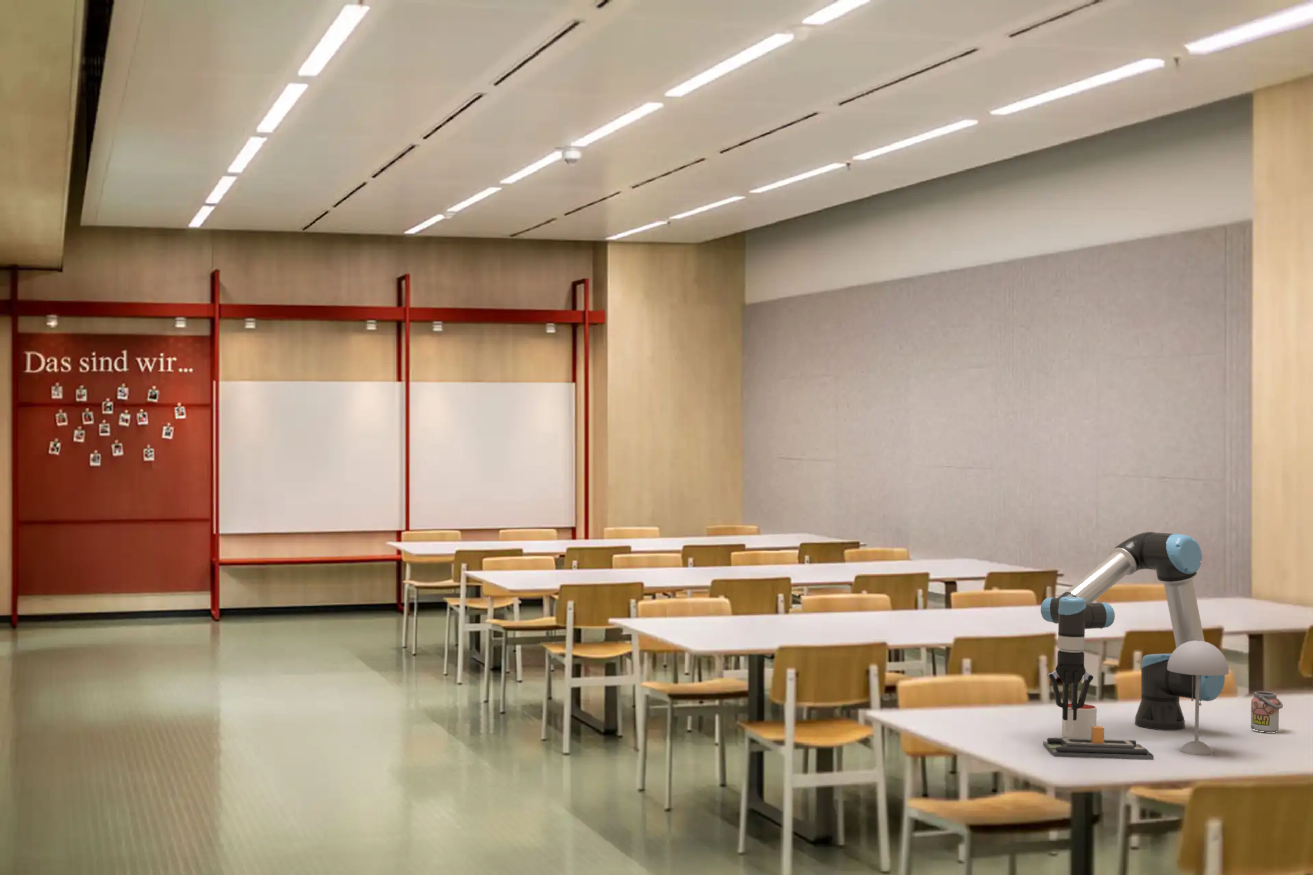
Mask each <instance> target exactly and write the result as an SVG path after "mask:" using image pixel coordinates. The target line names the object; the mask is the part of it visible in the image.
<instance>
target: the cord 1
mask: <svg viewBox="0 0 1313 875" xmlns="http://www.w3.org/2000/svg"><path fill="white" fill-rule="evenodd" d="M1061 738H1062V737H1048V738H1047V739H1046V741H1047V742H1049V743H1061ZM1128 740H1129V739H1128ZM1129 741H1130V742H1131V743H1132V744H1134V745H1136V744H1137V740H1135V739H1134V740H1133V739H1132V740H1131V739H1130V740H1129Z"/></svg>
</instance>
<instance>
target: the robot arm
mask: <svg viewBox="0 0 1313 875" xmlns="http://www.w3.org/2000/svg"><path fill="white" fill-rule="evenodd" d="M1202 554H1203V553H1202V549H1201V546H1200V545H1199V542H1197V541H1196V539H1195V538H1194V537H1192V536H1190V535H1186V534H1181V533H1177V532H1176V533H1167V532H1155V531H1153V532H1152V531H1147V532H1141V533H1138V534H1135V535H1133V536H1131V537H1129V538H1127V539H1125V540H1124V541H1122V542H1120V543H1119V544H1117V545H1116V546H1115V547H1114V548H1113V549H1112V550H1110V552H1109V556H1107V558H1106V559H1104V560H1103V561H1102V562H1100V563H1099V564H1098V565H1096V567H1094V568H1093V569H1091V570H1090V571H1089V572H1088V573H1086V575H1084V576H1083V577H1082V578H1081V579H1079V580H1078V581H1077V582H1076V583H1074V584H1073V585H1072V586H1071V587H1069V588H1068V589H1067V590H1065V591H1064V592H1063V593H1062V594H1060V595H1059V596H1057V597H1054V596H1053V597H1046V598H1044V600H1043V601H1042V602H1041V605H1040V615H1041V617H1042V619H1043V620H1044V621H1045V622H1048V623H1053V624H1054V625H1055V624H1056V625H1057V626H1058V628H1057V629H1058V631H1057V648H1058V651H1057V658H1056V660H1057V664H1056V666H1055V670H1054V671H1052V672H1049V673H1047V677H1048V678H1049V680H1050V682H1051V687H1052V691H1053V696H1054V700H1055V704H1056V706H1057V707H1059V708H1061V709H1063V713H1061V714H1062V715H1061V719H1062V718H1063V720H1066V731H1067V732H1073V720H1076V719H1077V709H1078V708H1082V707H1083V706H1084V704H1085V702H1086V698H1087V694H1088V691H1089V687H1090V684H1091V682H1093V681H1092V680H1094V676H1093V675H1092V674H1090V673H1088V672H1086V671H1087V669H1086V668H1085V652H1084V650H1085V640H1086V639H1085V638H1086V637H1085V636H1086V635H1085V634H1086V631H1085V630H1090V629H1093V630H1094V629H1100V630H1102V629H1105V628H1109V627H1111V626H1112V625H1113V623H1114V622H1115V619H1116V618H1115V617H1116V615H1115V614H1116V613H1115V610H1114V608H1113V606H1112V605H1110V604H1109V603H1107V602H1101V601H1098V602H1095V601H1096V600H1098V599H1099V597H1101V596H1102V595H1103V594H1104V593H1106V592H1107V591H1108V590H1109V589H1110V588H1112V587H1113V586H1114V585H1116V584H1118V582H1119V581H1120V580H1122V579H1123V578H1125V576H1132V575H1133V574H1134V573H1135V572H1137V571H1141V570H1153V571H1155V573H1156V577H1157V580H1158V581H1159V582H1161V583H1162V584H1163V586H1164V591H1165V597H1166V600H1167V606H1168V612H1169V617H1170V622H1171V626H1172V632H1173V637H1174V642H1175V649H1176V648H1177V647H1179V646H1180V645H1181V644H1183V643H1186V642H1189V641H1197V639H1200V641H1204V642H1206V641H1205V637H1204V632H1203V631H1204V630H1203V626H1202V621H1201V615H1200V611H1199V605H1198V600H1197V595H1196V589H1195V583H1194V579H1195V578H1196V576H1197V573H1198V572H1197V571H1199V569H1200V567H1201V565H1202V561H1203V555H1202ZM1171 654H1172V653H1152V654H1146V655H1143V657H1142V660H1141V667H1140V672H1141V674H1140V675H1141V677H1140V678H1141V680H1140V682H1141V684H1140V686H1141V688H1140V691H1141V693H1140V694H1141V695H1140V702H1139V705H1138V708H1137V711H1136V714H1135V717H1134V724H1135V726H1138V727H1141V728H1145V729H1150V730H1151V729H1153V730H1160V731H1161V730H1163V731H1177V730H1182V729H1185V727H1186V724H1185V723H1186V720H1185V717H1184V714H1183V710H1182V707H1181V704H1180V698H1185V699H1190V700H1191V699H1192V685H1193V699H1194V700H1195V695H1196V675H1189V674H1181V673H1175V672H1171V671H1169V670H1167V665H1168V661H1169V658H1170V656H1171ZM1058 677H1059V679H1061V681H1062V698H1061V694H1060V693H1061V692H1060V689H1059V685H1058V681H1057V679H1058ZM1082 678H1083V683H1082V687H1081V690H1080V693H1079V697H1078V692H1079V690H1078V688H1079V687H1078V686H1079V681H1080V680H1081V679H1082ZM1192 678H1193V684H1192ZM1225 681H1226V675H1219V676H1203V675H1201V681H1200V680H1199V702H1202V701H1204V702H1211V701H1212V702H1213V701H1214V700H1216V699H1217V698H1218V697H1219V696H1220V695H1221V692H1223V691H1222V690H1223V689H1224V686H1225ZM1070 683H1071V699H1070V701H1071V702H1070V704H1071V707H1072V709H1071V708H1068V704H1069V695H1070V694H1069V690H1070V689H1069V688H1070ZM1200 683H1201V701H1200Z"/></svg>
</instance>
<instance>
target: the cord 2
mask: <svg viewBox="0 0 1313 875" xmlns="http://www.w3.org/2000/svg"><path fill="white" fill-rule="evenodd" d="M1147 750H1148V749H1120V748H1087V747H1056V751H1058V752H1088V753H1121V754H1148V751H1149V750H1148V751H1147Z"/></svg>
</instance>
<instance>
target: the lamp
mask: <svg viewBox="0 0 1313 875" xmlns="http://www.w3.org/2000/svg"><path fill="white" fill-rule="evenodd" d="M1204 641H1205V640H1204ZM1204 641H1200V639H1197V641H1189V642H1186V643H1183V644H1181V645H1180V646H1179V647H1177V648H1176V647H1175V649H1174V650H1173V652H1171V653H1170V654H1171V656H1170V658H1169V661H1168V665H1167V670H1169V671H1171V672H1175V673H1181V674H1189V675H1196V695H1195V699H1193V685H1192V699H1190V700H1191V702H1194V701H1195V702H1194V703H1195V704H1194V706H1195V710H1194V714H1195V715H1194V740H1192V741H1188V742H1186V743H1184V744H1183V745H1182V746H1181V747H1180V749H1179V751H1180V752H1181V753H1185V754H1189V755H1190V754H1191V755H1198V756H1199V755H1200V756H1206V755H1213V754H1214V751H1213V749H1211V747H1210V746H1209V745H1208V744H1206V743H1205V742H1203V741H1199V738H1200V737H1199V736H1200V735H1199V731H1200V730H1199V729H1200V727H1199V726H1200V725H1199V724H1200V722H1199V721H1200V706H1202V703H1201V702H1202V701H1201V683H1200V701H1199V680H1200V681H1201V675H1203V676H1219V675H1225V676H1227V675H1229V674H1230V668H1229V664H1228V661H1227V659H1226V656H1225V655H1224V654H1223V652H1222V650H1220V649H1219V648H1218V647H1217V646H1215V645H1213V644H1212V643H1210V642H1207V641H1205V642H1204ZM1192 684H1193V678H1192ZM1212 753H1213V754H1212Z"/></svg>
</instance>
